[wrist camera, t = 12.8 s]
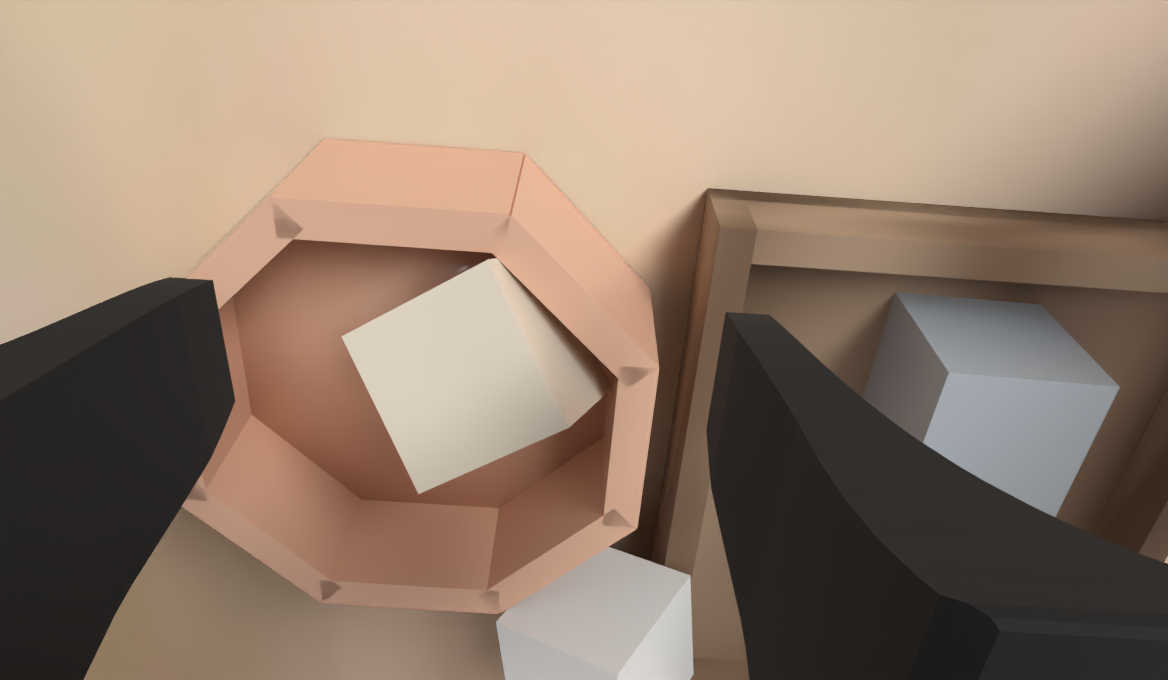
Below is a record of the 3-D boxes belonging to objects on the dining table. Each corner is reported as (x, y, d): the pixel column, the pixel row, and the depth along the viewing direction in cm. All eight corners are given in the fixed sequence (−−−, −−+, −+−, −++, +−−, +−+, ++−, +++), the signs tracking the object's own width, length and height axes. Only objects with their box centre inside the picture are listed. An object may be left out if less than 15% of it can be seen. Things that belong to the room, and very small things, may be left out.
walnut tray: (1259, 228, 19) (1333, 270, 17) (1027, 677, 27) (1059, 741, 25) (707, 188, 19) (719, 227, 17) (636, 655, 26) (639, 717, 25)
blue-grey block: (1041, 304, 19) (1120, 386, 16) (988, 430, 21) (1051, 524, 18) (895, 291, 19) (949, 373, 16) (855, 419, 21) (897, 512, 18)
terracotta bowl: (665, 163, 18) (678, 226, 15) (621, 522, 24) (624, 621, 21) (180, 128, 18) (97, 184, 15) (246, 499, 23) (194, 596, 20)
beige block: (611, 388, 19) (545, 251, 19) (569, 427, 15) (488, 259, 15) (485, 445, 20) (422, 314, 20) (418, 494, 16) (341, 336, 16)
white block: (617, 674, 18) (626, 779, 20) (690, 575, 21) (693, 674, 23) (495, 621, 20) (512, 721, 22) (577, 535, 23) (587, 629, 24)
